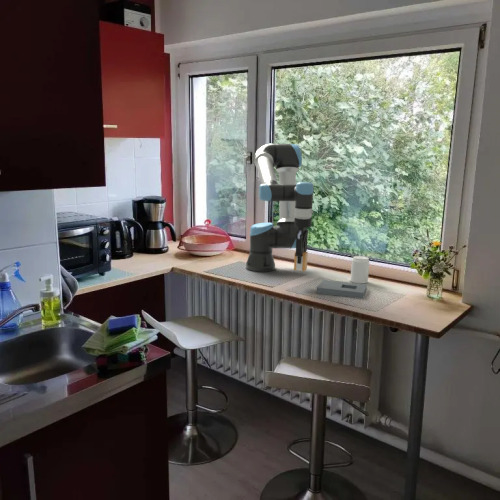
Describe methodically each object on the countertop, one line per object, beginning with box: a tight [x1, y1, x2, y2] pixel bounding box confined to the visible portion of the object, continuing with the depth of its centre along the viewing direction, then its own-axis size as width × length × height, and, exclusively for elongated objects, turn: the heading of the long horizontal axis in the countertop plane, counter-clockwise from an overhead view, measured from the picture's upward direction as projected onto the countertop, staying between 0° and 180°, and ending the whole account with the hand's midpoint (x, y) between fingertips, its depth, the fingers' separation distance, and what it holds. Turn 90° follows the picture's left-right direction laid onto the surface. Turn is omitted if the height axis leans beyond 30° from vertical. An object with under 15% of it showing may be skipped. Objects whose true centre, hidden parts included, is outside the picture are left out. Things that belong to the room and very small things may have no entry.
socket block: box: [315, 279, 368, 299], centre depth 220 cm, size 20×14×2 cm
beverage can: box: [350, 255, 370, 284], centre depth 235 cm, size 8×8×12 cm
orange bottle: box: [293, 248, 309, 272], centre depth 224 cm, size 5×4×10 cm
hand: (300, 268), depth 225 cm, fingers closed on orange bottle, 4 cm apart
